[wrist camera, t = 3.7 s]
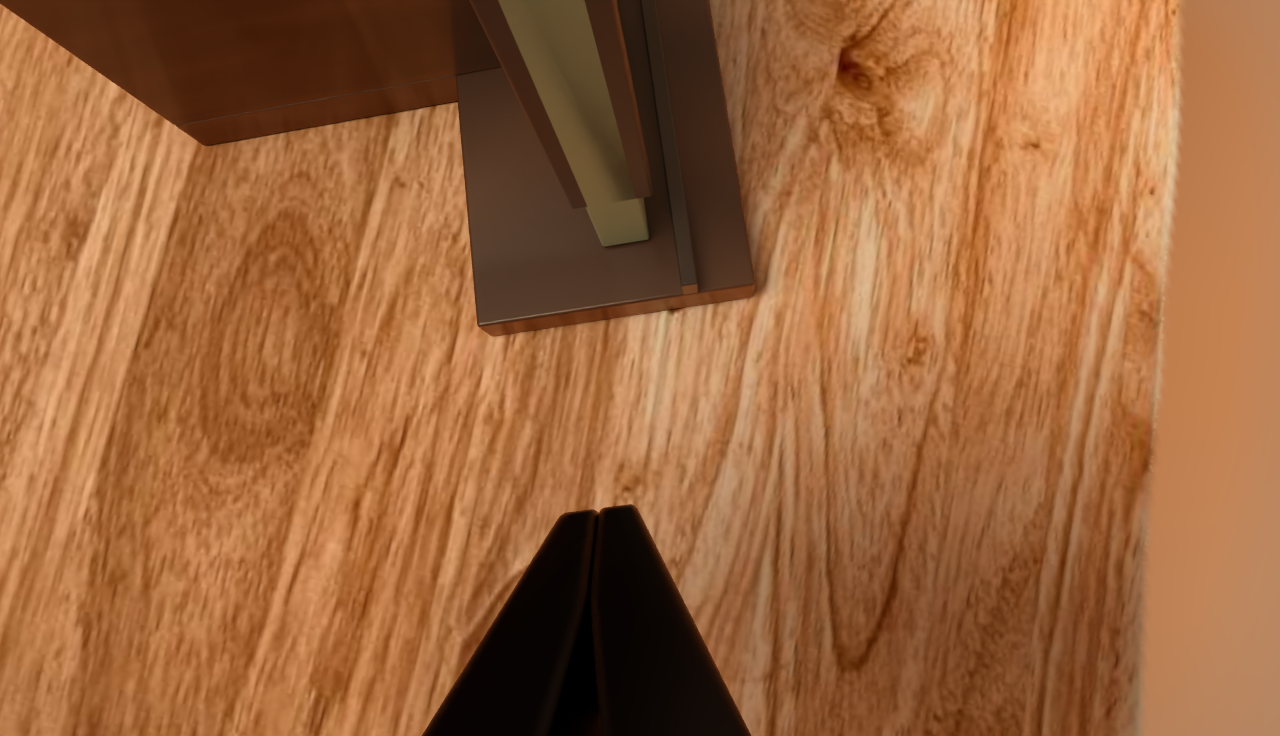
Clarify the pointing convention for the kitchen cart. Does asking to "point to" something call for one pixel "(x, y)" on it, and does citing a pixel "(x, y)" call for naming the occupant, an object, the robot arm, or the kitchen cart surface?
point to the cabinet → (489, 125)
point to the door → (578, 103)
